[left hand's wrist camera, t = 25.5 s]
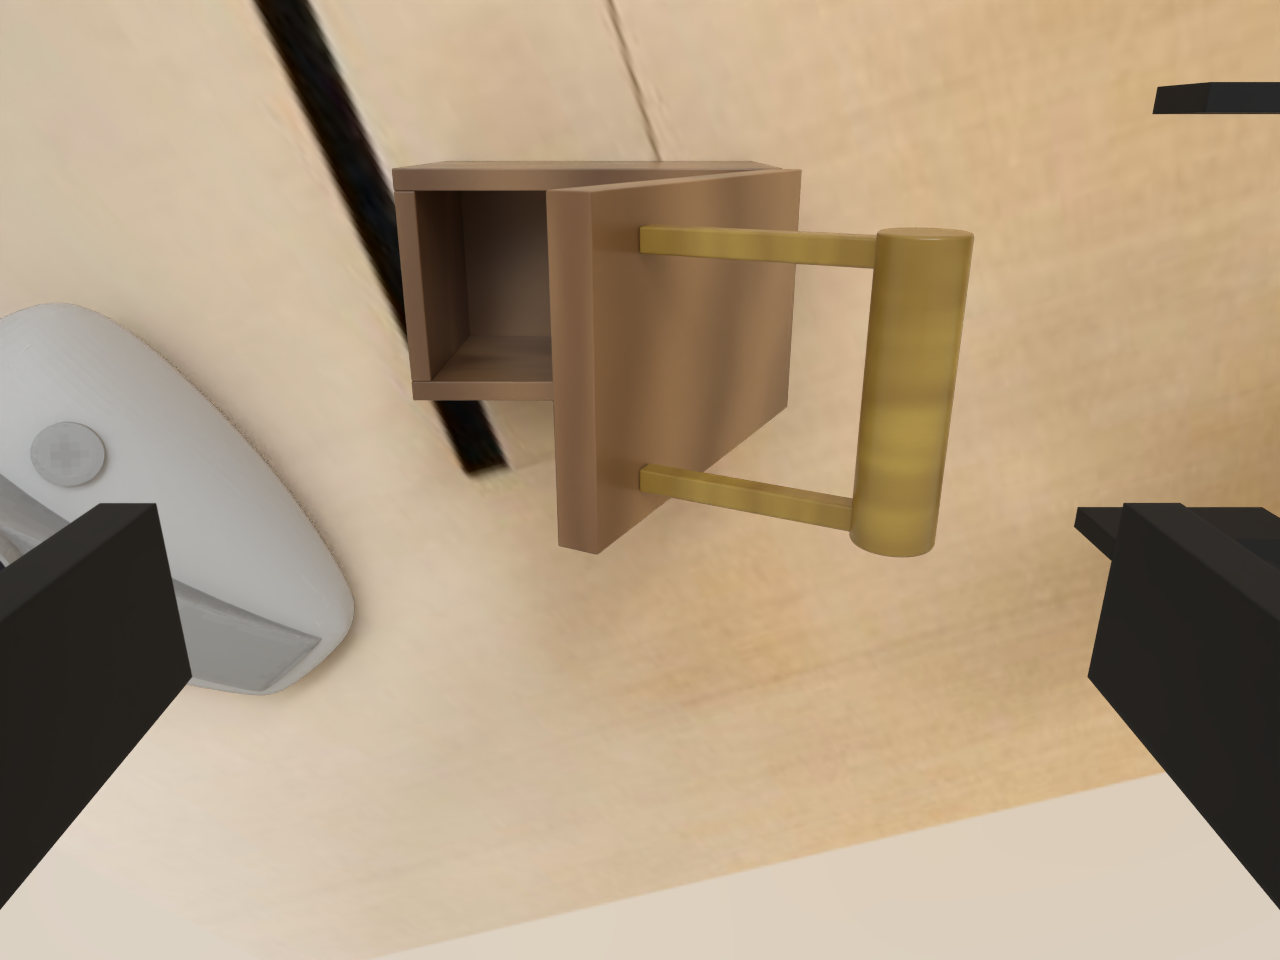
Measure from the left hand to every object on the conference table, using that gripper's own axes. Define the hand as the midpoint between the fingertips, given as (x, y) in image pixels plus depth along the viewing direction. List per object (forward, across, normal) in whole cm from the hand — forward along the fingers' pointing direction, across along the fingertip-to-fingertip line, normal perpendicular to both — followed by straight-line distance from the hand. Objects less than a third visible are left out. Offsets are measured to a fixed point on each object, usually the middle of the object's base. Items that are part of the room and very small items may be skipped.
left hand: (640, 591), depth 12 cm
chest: (+36, -2, 0) cm, 36 cm away
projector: (+36, -26, -14) cm, 47 cm away
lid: (+19, +1, 0) cm, 19 cm away
